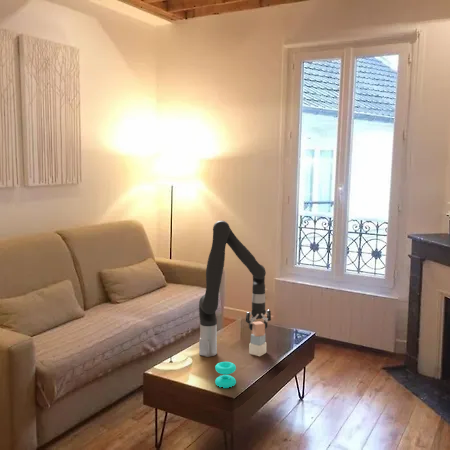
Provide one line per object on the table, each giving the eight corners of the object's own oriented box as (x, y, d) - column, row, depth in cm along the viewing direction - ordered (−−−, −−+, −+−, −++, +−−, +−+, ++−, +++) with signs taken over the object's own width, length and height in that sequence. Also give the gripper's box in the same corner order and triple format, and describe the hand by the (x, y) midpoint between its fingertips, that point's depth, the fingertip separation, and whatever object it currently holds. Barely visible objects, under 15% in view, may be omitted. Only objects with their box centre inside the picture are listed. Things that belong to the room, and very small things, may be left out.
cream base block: (259, 356, 271) (259, 346, 270) (249, 353, 275) (249, 343, 274) (266, 352, 276) (266, 342, 275) (255, 349, 280) (255, 339, 280)
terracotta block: (255, 336, 271) (255, 325, 270) (251, 333, 276) (251, 322, 275) (264, 335, 272) (264, 324, 272) (260, 332, 278) (260, 321, 277)
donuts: (219, 359, 241) (238, 362, 238) (219, 378, 242) (238, 382, 239) (211, 367, 232) (231, 370, 228) (211, 387, 233) (231, 390, 230)
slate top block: (259, 345, 271) (260, 336, 270) (250, 343, 274) (250, 334, 273) (265, 342, 275) (265, 333, 275) (256, 340, 279) (256, 331, 278)
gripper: (249, 303, 266) (249, 332, 268) (273, 301, 271) (272, 329, 273) (244, 300, 273) (243, 328, 275) (267, 298, 278) (267, 325, 280)
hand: (258, 329), depth 274 cm, fingers open, 8 cm apart
